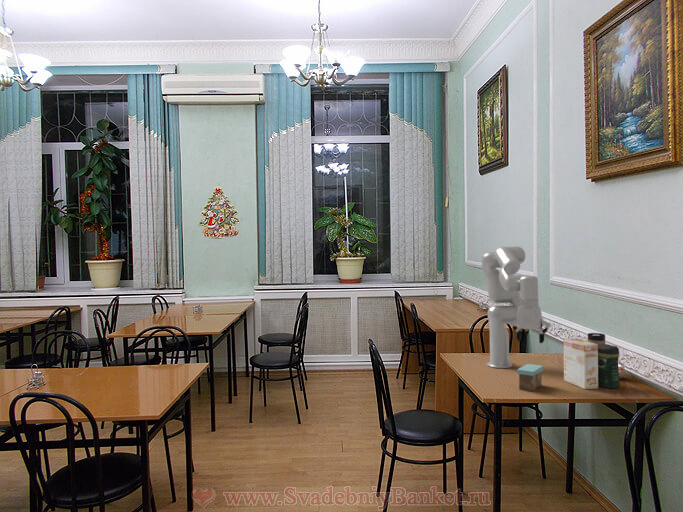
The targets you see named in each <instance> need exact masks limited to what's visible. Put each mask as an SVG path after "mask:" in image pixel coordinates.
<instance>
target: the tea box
mask: <svg viewBox="0 0 683 512" xmlns="http://www.w3.org/2000/svg"><path fill="white" fill-rule="evenodd" d="M542 372H543V371H541V372H539V373H537V374H536V375H534V376H530V375H524V374H518V377H519V379H518V380H519V382H518V383H519V384H518V385H519V387H518V388H519V390H521V391H527V392H534V391H535V390H537V389H538V388H541V386H542V385H543V382H542V381H543V378H542V377H543V375H542V374H543V373H542Z"/></svg>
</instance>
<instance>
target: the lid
mask: <svg viewBox="0 0 683 512" xmlns="http://www.w3.org/2000/svg"><path fill="white" fill-rule="evenodd" d="M541 371H542V372H543V371H544V366H543V365H538V364H531V363H527V364H524V365H523V366H521V367H519V368H517V369H516V374H517V375H519V374H524V375H530V376H534V375H536V374H537V373H539V372H541Z"/></svg>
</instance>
